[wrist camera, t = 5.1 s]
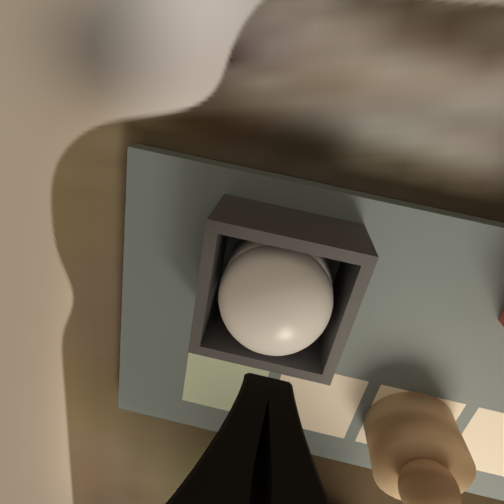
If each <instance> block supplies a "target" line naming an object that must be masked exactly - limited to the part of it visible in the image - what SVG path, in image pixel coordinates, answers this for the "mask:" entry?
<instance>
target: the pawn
mask: <svg viewBox="0 0 504 504" xmlns="http://www.w3.org/2000/svg"><path fill="white" fill-rule="evenodd" d="M364 430H365V435H366V441H367V446H368V452H369V457H370V463H371V468H372V474H373V478H374V480H375V482H376V484H377V485H378V487H379V488H380V489H381V490H383V491H384V492H385V493H387V494H388V495H390V496H392V497H394V498H396V499H399V500H402V502H403V504H461V493H463V492H464V491H465V490H467V489H468V488H469V487H470V485H471V484H472V483H473V481H474V479H475V476H476V466H475V463H474V460H473V458H472V456H471V454H470V452H469V449H468V447H467V445H466V443H465V441H464V438H463V436H462V434H461V432H460V430H459V427H458V425H457V423H456V421H455V419H454V416H453V414H452V412H451V410H450V409H449V407H448V406H447V405H446V404H445V403H444V402H443V401H441V400H440V399H438V398H436V397H434V396H432V395H429V394H426V393H421V392H399V393H394V394H391V395H388V396H385V397H383V398H381V399H380V400H378V401H377V402H375V403H374V404H373V405H372V406H371V407H370V408H369V409H368V411H367V412H366V414H365V417H364Z"/></svg>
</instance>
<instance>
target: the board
mask: <svg viewBox="0 0 504 504" xmlns="http://www.w3.org/2000/svg"><path fill="white" fill-rule="evenodd" d="M240 239H243V240H248V241H252V242H257V243H261V244H266V245H270V246H275V247H279V248H284V249H288V250H293V251H297V252H301V253H306V254H310V255H315V256H319V257H324V258H328V261H329V266H330V273H331V279H332V286H333V297H334V302H333V309H332V313H331V317H330V320H329V322H328V324H327V326H326V328H325V329H324V331H323V333H322V334H321V335H320V336H319V337H318V338H317V339H316V340H315V341H314V342H313V343H312V344H311V345H309V346H308V347H306V348H304V349H302V350H301V351H298V352H296V353H293V354H289V355H283V356H270V355H264V354H260V353H257V352H254V351H252V350H250V349H248V348H246V347H245V346H243V345H242V344H241V343H239V342H238V341H237V340H236V339H235V338H234V337H233V336H232V335H231V333H230V332H229V331H228V329H227V327H226V325H225V324H224V322H223V319H222V317H221V314H220V309H219V303H218V292H219V286H220V282H221V278H222V276H223V273H224V271H225V268H226V266H227V263H228V261H229V258H230V256H231V254H232V251H233V249H234V247H235V246H236V244H237V243H238V242H239V240H240ZM503 310H504V223H503V222H499V221H494V220H489V219H485V218H480V217H476V216H471V215H466V214H462V213H457V212H452V211H448V210H443V209H439V208H434V207H429V206H425V205H420V204H415V203H411V202H406V201H402V200H397V199H392V198H388V197H383V196H378V195H374V194H369V193H365V192H360V191H355V190H351V189H346V188H341V187H337V186H332V185H328V184H323V183H318V182H314V181H309V180H304V179H300V178H295V177H291V176H286V175H281V174H277V173H272V172H267V171H263V170H258V169H254V168H249V167H244V166H240V165H235V164H230V163H226V162H221V161H217V160H212V159H207V158H203V157H198V156H193V155H189V154H184V153H180V152H175V151H170V150H166V149H161V148H156V147H152V146H147V145H143V144H138V143H136V144H133V145H130V146H128V148H127V175H126V203H125V230H124V258H123V285H122V313H121V340H120V368H119V395H118V408H120V409H124V410H128V411H132V412H136V413H141V414H145V415H149V416H153V417H157V418H161V419H166V420H170V421H174V422H178V423H182V424H186V425H190V426H195V427H199V428H203V429H207V430H211V431H215V432H218V431H219V429H220V427H221V425H222V424H223V422H224V420H225V418H226V417H227V415H228V413H229V411H230V410H231V408H232V406H233V404H234V402H235V399H236V397H237V395H238V393H239V390H240V388H241V385H242V382H243V379H244V375H245V374H247V373H253V374H257V375H262V376H266V377H270V378H274V379H279V380H283V381H287V382H290V383H291V385H292V386H293V392H294V397H295V402H296V406H297V410H298V414H299V417H300V421H301V425H302V428H303V431H304V435H305V438H306V441H307V444H308V447H309V450H310V453H311V455H315V456H319V457H324V458H328V459H332V460H336V461H340V462H344V463H349V464H353V465H357V466H361V467H365V468H369V469H372V468H371V463H370V457H369V452H368V446H367V441H366V435H365V430H364V417H365V414H366V412H367V411H368V409H369V408H370V407H371V406H372V405H373V404H374V403H375V402H377V401H378V400H380V399H381V398H383V397H385V396H388V395H391V394H394V393H399V392H421V393H426V394H429V395H432V396H434V397H436V398H438V399H440V400H441V401H443V402H444V403H445V404H446V405H447V406H448V407H449V409H450V410H451V412H452V414H453V416H454V419H455V421H456V423H457V425H458V427H459V430H460V432H461V434H462V436H463V438H464V441H465V443H466V445H467V447H468V449H469V452H470V454H471V456H472V458H473V460H474V463H475V466H476V476H475V479H474V481H473V483H472V484H471V485H470V487H469V488H468V489H467V490H465V492H469V493H473V494H478V495H482V496H486V497H490V498H494V499H498V500H503V501H504V327H503V326H502V324H501V323H500V322H499V321H498V319H499V317H500V315H501V314H502V312H503Z"/></svg>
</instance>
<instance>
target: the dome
mask: <svg viewBox="0 0 504 504" xmlns="http://www.w3.org/2000/svg"><path fill="white" fill-rule="evenodd" d="M333 302H334V297H333V286H332V279H331V273H330V266H329V261H328V258H324V257H319V256H315V255H310V254H306V253H301V252H297V251H293V250H288V249H284V248H279V247H275V246H270V245H266V244H261V243H257V242H252V241H248V240H243V239H240V240H239V242H238V243H237V244H236V246H235V247H234V249H233V251H232V254H231V256H230V258H229V261H228V263H227V266H226V268H225V271H224V273H223V276H222V278H221V282H220V286H219V292H218V303H219V309H220V314H221V317H222V319H223V322H224V324H225V325H226V327H227V329H228V331H229V332H230V333H231V335H232V336H233V337H234V338H235V339H236V340H237V341H238V342H239V343H241V344H242V345H243V346H245V347H246V348H248V349H250V350H252V351H254V352H257V353H260V354H264V355H270V356H283V355H289V354H293V353H296V352H298V351H301V350H302V349H304V348H306V347H308V346H309V345H311V344H312V343H313V342H314V341H315V340H316V339H317V338H318V337H319V336H320V335H321V334H322V333H323V331H324V329H325V328H326V326H327V324H328V322H329V320H330V317H331V313H332V309H333Z"/></svg>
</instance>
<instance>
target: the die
mask: <svg viewBox="0 0 504 504" xmlns="http://www.w3.org/2000/svg"><path fill="white" fill-rule="evenodd" d="M498 321H499V322H500V323H501V324H502V326H503V327H504V310H503V312H502V314H501V315H500V317H499V319H498Z"/></svg>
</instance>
